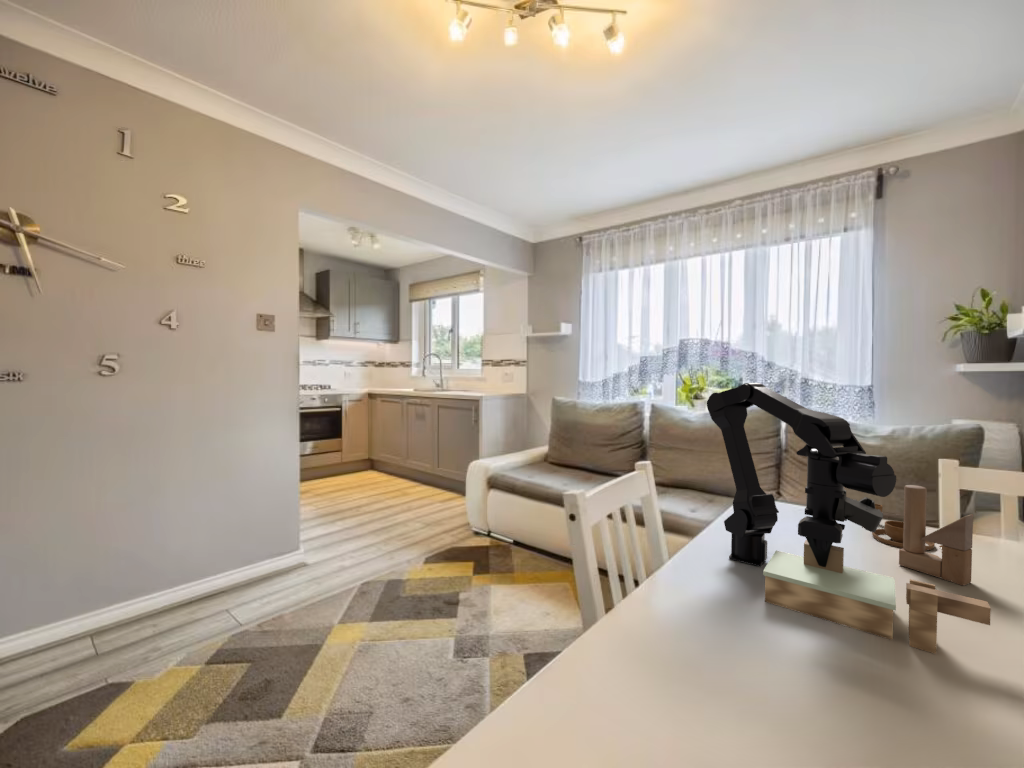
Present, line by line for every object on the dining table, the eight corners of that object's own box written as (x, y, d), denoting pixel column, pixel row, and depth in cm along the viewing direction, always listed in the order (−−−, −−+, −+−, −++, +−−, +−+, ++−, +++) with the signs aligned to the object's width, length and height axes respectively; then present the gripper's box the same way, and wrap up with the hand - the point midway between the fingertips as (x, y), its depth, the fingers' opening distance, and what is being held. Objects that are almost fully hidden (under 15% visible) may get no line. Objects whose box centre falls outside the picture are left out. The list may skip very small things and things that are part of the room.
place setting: (852, 539, 114) (853, 516, 114) (868, 522, 127) (869, 502, 127) (947, 561, 101) (947, 536, 101) (953, 540, 114) (954, 517, 114)
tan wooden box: (764, 602, 81) (765, 554, 81) (776, 578, 91) (777, 535, 90) (936, 654, 66) (937, 595, 66) (929, 619, 76) (931, 568, 75)
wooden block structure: (963, 586, 88) (966, 497, 87) (898, 565, 97) (900, 485, 97) (972, 582, 89) (974, 495, 89) (906, 562, 99) (908, 483, 99)
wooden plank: (906, 604, 69) (907, 588, 69) (906, 597, 71) (906, 582, 71) (990, 625, 63) (990, 608, 63) (987, 618, 65) (987, 601, 65)
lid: (763, 575, 81) (763, 549, 81) (775, 554, 91) (776, 531, 91) (895, 610, 69) (896, 580, 69) (894, 582, 79) (895, 555, 79)
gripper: (879, 501, 71) (877, 596, 71) (880, 480, 85) (878, 559, 85) (798, 489, 78) (796, 575, 78) (811, 472, 92) (810, 545, 92)
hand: (823, 563), depth 83 cm, fingers closed on lid, 3 cm apart
